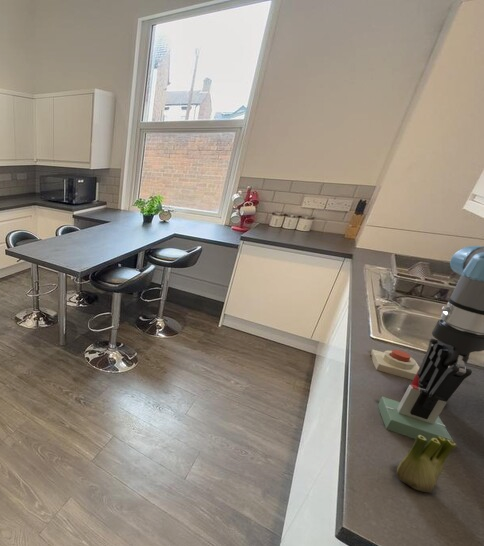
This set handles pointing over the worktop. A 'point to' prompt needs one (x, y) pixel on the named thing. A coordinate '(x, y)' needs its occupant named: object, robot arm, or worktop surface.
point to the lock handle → (410, 400)
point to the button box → (394, 365)
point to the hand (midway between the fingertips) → (416, 412)
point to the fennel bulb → (424, 463)
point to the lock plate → (409, 422)
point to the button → (400, 355)
